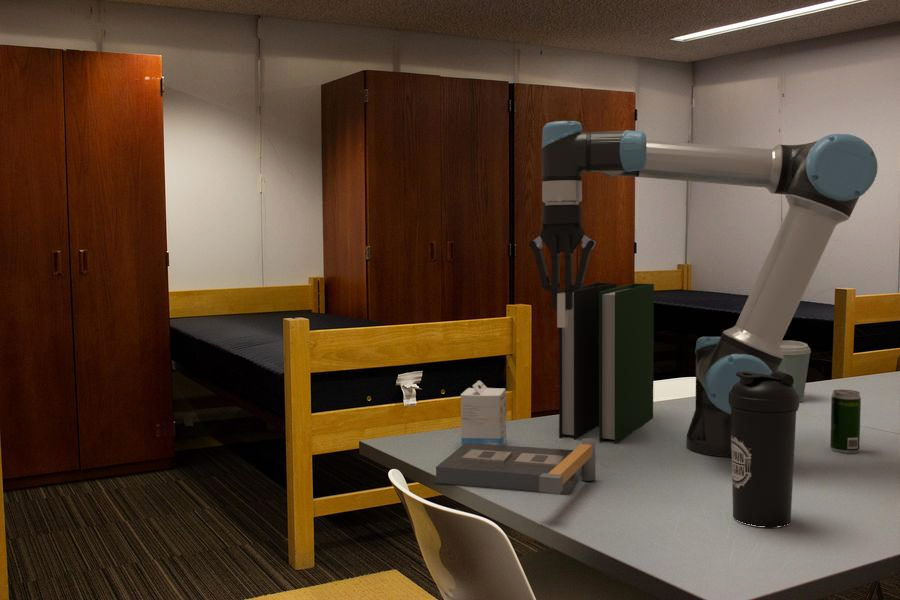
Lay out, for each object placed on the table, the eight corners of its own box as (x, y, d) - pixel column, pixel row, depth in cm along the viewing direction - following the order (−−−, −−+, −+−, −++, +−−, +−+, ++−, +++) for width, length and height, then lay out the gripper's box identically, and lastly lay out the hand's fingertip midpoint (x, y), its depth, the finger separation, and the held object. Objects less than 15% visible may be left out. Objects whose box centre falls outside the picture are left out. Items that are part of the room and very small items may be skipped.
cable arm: (581, 476, 158) (581, 437, 157) (599, 478, 156) (599, 438, 156) (539, 519, 135) (539, 474, 134) (559, 522, 133) (559, 476, 133)
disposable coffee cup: (817, 404, 218) (818, 345, 217) (774, 404, 218) (775, 345, 217) (800, 396, 229) (801, 339, 227) (759, 396, 229) (760, 340, 228)
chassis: (585, 466, 165) (585, 448, 165) (568, 494, 148) (568, 474, 148) (465, 457, 173) (465, 440, 172) (436, 483, 156) (435, 464, 155)
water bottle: (716, 509, 139) (718, 368, 137) (778, 507, 140) (780, 366, 138) (743, 531, 129) (745, 379, 127) (809, 528, 130) (812, 377, 128)
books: (619, 444, 181) (619, 292, 179) (553, 437, 188) (552, 290, 185) (653, 418, 205) (653, 283, 202) (593, 412, 212) (593, 282, 209)
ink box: (501, 451, 177) (500, 387, 176) (460, 450, 178) (460, 386, 177) (506, 441, 185) (506, 379, 184) (468, 440, 187) (467, 378, 186)
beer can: (865, 452, 172) (867, 393, 171) (844, 455, 170) (846, 395, 169) (844, 446, 177) (846, 388, 176) (824, 448, 175) (825, 390, 174)
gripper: (599, 203, 167) (599, 325, 169) (533, 205, 171) (533, 323, 173) (593, 202, 160) (593, 329, 162) (524, 204, 164) (525, 328, 166)
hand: (562, 326), depth 167 cm, fingers closed
